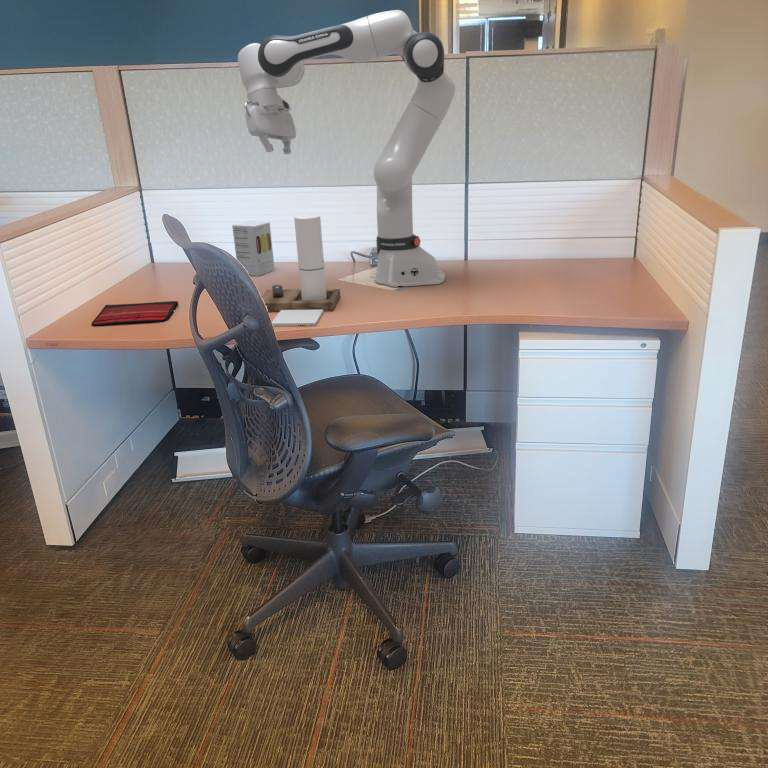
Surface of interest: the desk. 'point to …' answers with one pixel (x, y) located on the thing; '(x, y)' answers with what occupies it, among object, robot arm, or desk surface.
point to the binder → (135, 313)
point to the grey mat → (297, 317)
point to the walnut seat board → (297, 300)
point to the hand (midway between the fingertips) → (279, 152)
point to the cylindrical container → (310, 257)
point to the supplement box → (254, 247)
